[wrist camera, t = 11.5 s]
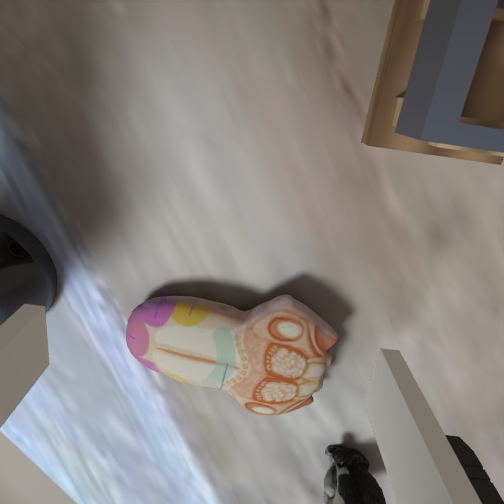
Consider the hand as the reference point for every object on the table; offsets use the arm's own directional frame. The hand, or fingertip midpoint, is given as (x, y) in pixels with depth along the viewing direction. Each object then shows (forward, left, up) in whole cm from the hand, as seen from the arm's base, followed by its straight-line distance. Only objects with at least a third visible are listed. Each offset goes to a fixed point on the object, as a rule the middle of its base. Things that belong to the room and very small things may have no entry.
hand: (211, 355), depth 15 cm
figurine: (+19, -38, -29) cm, 51 cm away
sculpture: (+2, -20, -29) cm, 35 cm away
